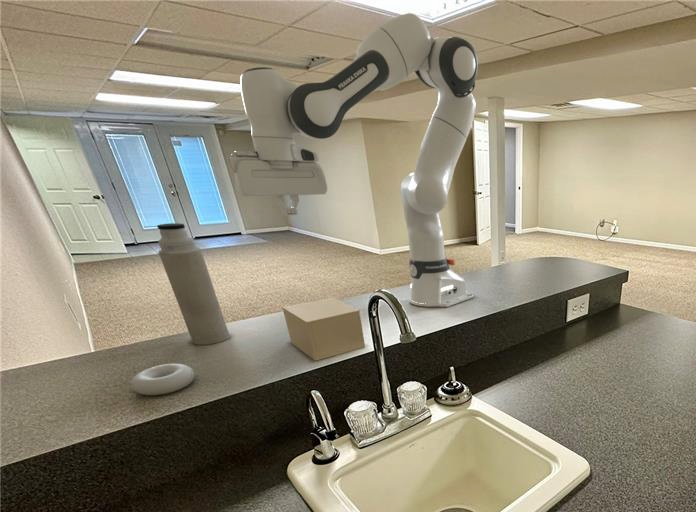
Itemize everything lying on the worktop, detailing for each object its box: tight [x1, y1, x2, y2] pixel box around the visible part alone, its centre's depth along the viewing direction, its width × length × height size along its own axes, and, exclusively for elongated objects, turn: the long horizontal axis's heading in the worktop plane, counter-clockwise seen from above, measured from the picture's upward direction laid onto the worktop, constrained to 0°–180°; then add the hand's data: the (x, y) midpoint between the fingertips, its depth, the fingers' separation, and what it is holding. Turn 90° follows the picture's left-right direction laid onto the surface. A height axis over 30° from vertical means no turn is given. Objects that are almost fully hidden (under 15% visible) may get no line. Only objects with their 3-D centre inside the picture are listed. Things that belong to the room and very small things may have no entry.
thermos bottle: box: [156, 222, 230, 346], centre depth 98 cm, size 8×8×28 cm
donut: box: [130, 363, 195, 396], centre depth 82 cm, size 10×4×10 cm
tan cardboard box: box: [282, 297, 366, 362], centre depth 101 cm, size 15×13×10 cm
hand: (290, 215), depth 102 cm, fingers closed
